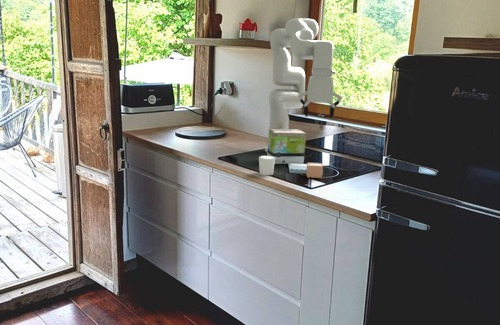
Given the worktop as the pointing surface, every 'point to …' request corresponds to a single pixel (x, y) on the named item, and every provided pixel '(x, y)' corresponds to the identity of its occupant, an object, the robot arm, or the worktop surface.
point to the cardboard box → (314, 170)
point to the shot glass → (266, 165)
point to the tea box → (286, 145)
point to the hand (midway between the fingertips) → (318, 116)
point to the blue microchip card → (298, 168)
